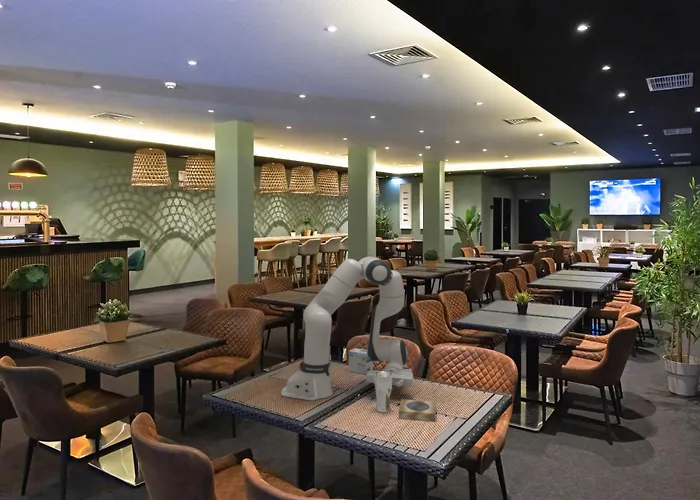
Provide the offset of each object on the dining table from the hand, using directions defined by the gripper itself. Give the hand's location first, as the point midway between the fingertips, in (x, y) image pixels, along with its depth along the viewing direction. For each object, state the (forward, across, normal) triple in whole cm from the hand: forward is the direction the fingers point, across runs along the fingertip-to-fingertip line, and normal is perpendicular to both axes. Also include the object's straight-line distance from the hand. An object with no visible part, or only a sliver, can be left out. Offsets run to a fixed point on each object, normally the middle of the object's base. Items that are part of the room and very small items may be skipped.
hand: (386, 383), depth 214 cm
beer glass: (+7, 0, +9) cm, 11 cm away
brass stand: (+7, +14, +8) cm, 18 cm away
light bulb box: (-40, -21, +9) cm, 46 cm away
